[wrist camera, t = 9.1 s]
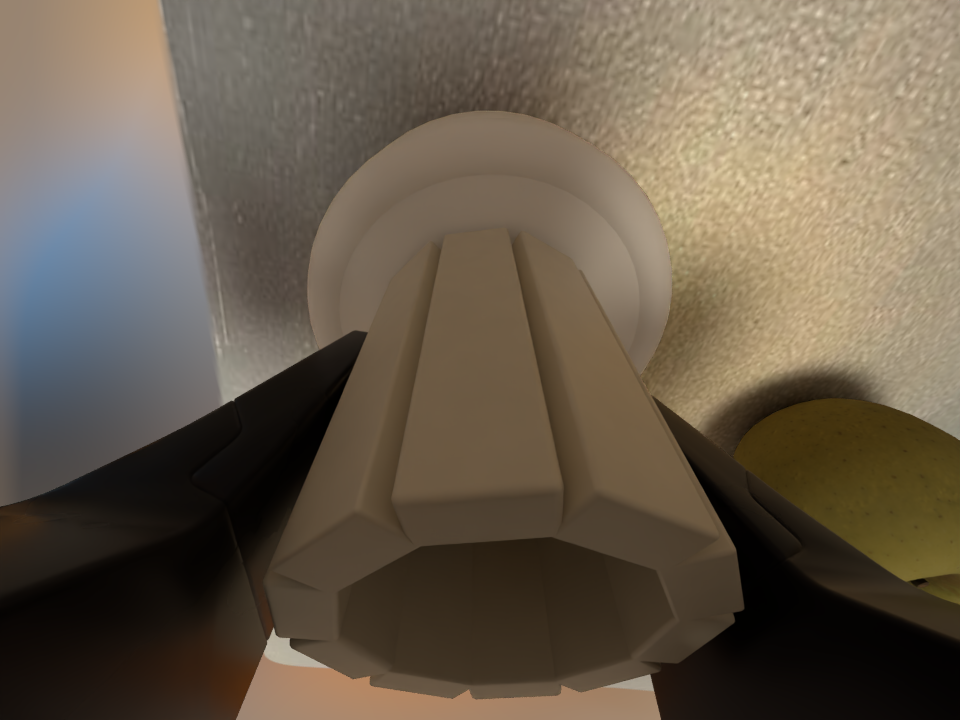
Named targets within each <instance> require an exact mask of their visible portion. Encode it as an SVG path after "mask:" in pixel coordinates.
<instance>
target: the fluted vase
mask: <svg viewBox="0 0 960 720" xmlns="http://www.w3.org/2000/svg"><path fill="white" fill-rule="evenodd" d="M263 587H264V591H265V595H266V599H267V602H268V606H269V610H270V614H271V618H272V622H273V625H274V629H275V633H276V635H277V636H278V637H280V638H290V646H291V648H292V649H294V650H296V651H298V652H300V653H302V654H304V655H306V656H308V657H310V658H312V659H314V660H316V661H318V662H320V663H322V664H324V665H326V666H328V667H330V668H332V669H334V670H336V671H338V672H340V673H342V674H344V675H346V676H348V677H350V678H352V679H356V678H362V677H367V676H371V677H370V685H371V686H374V687H381V688H387V689H394V690H400V691H406V692H413V693H420V694H426V695H432V696H439V697H445V698H452V699H453V698H455V697H457V696H458V695H460V694H462V693H463V692H465V691H467V690H468V689H469V690H470V693H471V695H472V697H473V698H474V699H492V698H514V697H535V696H556V695H559V694H560V693H561V685H563V686H565V687H568V688H571V689H573V690H576V691H578V692H584V691H588V690H592V689H596V688H600V687H603V686H607V685H611V684H615V683H619V682H622V681H626V680H630V679H634V678H637V677H641V676H645V675H649V674H653V673H656V672H659V671H660V670H661V665H660V662H663V663H679V662H681V661H682V660H684V659H685V658H686V657H688V656H689V655H691V654H692V653H693V652H695V651H696V650H697V649H699V648H700V647H702V646H703V645H704V644H706V643H707V642H708V641H710V640H711V639H713V638H714V637H715V636H717V635H718V634H720V633H721V632H722V631H724V630H725V629H726V628H728V627H729V626H731V625H732V624H733V623H734V622H735V618H734V615H733V612H739V611H742V610H744V601H743V594H742V587H741V580H740V573H739V566H738V559H737V552H736V548H735V546H734V544H733V542H732V541H731V539H730V537H729V535H728V533H727V532H726V530H725V528H724V526H723V524H722V523H721V521H720V519H719V517H718V515H717V514H716V512H715V510H714V508H713V506H712V505H711V503H710V501H709V499H708V497H707V495H706V494H705V492H704V490H703V488H702V486H701V485H700V483H699V481H698V479H697V477H696V476H695V474H694V472H693V470H692V468H691V467H690V465H689V463H688V461H687V459H686V457H685V456H684V454H683V452H682V450H681V448H680V447H679V445H678V443H677V441H676V439H675V438H674V436H673V434H672V432H671V430H670V429H669V427H668V425H667V423H666V421H665V420H664V418H663V416H662V414H661V412H660V410H659V409H658V407H657V405H656V403H655V401H654V400H653V398H652V396H651V394H650V392H649V391H648V389H647V387H646V385H645V383H644V382H643V380H642V378H641V376H640V374H639V373H638V371H637V369H636V367H635V365H634V363H633V362H632V360H631V358H630V356H629V354H628V353H627V351H626V349H625V347H624V345H623V344H622V342H621V340H620V338H619V336H618V335H617V333H616V331H615V329H614V327H613V326H612V324H611V322H610V320H609V318H608V316H607V315H606V313H605V311H604V309H603V307H602V306H601V304H600V302H599V300H598V298H597V297H596V295H595V293H594V291H593V289H592V288H591V286H590V284H589V282H588V280H587V279H586V277H585V275H584V273H583V271H582V270H578V268H577V267H576V265H575V263H574V261H573V259H571V258H570V257H568V256H566V255H565V254H563V253H561V252H559V251H558V250H556V249H554V248H553V247H551V246H549V245H547V244H546V243H544V242H542V241H541V240H539V239H537V238H535V237H534V236H532V235H530V234H529V233H527V232H525V231H521V232H520V233H519V234H518V236H517V237H516V239H515V241H514V242H513V244H511V239H510V235H509V231H508V229H507V228H497V229H489V230H480V231H472V232H464V233H455V234H447V235H445V236H444V239H443V244H442V249H440V248H439V247H438V246H437V245H436V244H435V243H434V242H432V241H430V242H429V243H427V244H426V245H425V246H424V247H423V248H422V249H421V250H420V251H419V252H418V253H417V254H416V255H415V256H414V257H413V258H412V259H411V260H410V261H409V262H408V263H407V264H406V265H405V266H404V267H403V268H402V269H401V270H400V271H399V272H398V273H397V274H396V275H395V276H394V277H393V278H392V279H391V280H390V282H389V285H388V287H387V289H386V292H385V294H384V296H383V298H382V301H381V303H380V305H379V308H378V310H377V312H376V315H375V317H374V320H373V322H372V324H371V327H370V329H369V331H368V334H367V336H366V338H365V341H364V343H363V345H362V348H361V351H360V353H359V356H358V358H357V360H356V363H355V365H354V367H353V370H352V372H351V374H350V376H349V378H348V381H347V383H346V386H345V388H344V390H343V393H342V395H341V397H340V400H339V402H338V404H337V407H336V409H335V411H334V414H333V416H332V419H331V421H330V423H329V426H328V428H327V430H326V433H325V435H324V437H323V440H322V442H321V444H320V447H319V449H318V452H317V454H316V456H315V459H314V461H313V463H312V466H311V468H310V470H309V473H308V475H307V477H306V480H305V482H304V485H303V487H302V489H301V492H300V494H299V496H298V499H297V501H296V503H295V506H294V508H293V510H292V513H291V515H290V518H289V520H288V522H287V525H286V527H285V529H284V532H283V534H282V536H281V539H280V541H279V543H278V546H277V548H276V551H275V553H274V555H273V558H272V560H271V562H270V565H269V567H268V569H267V572H266V574H265V576H264V579H263Z"/></svg>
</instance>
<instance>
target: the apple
mask: <svg viewBox="0 0 960 720" xmlns="http://www.w3.org/2000/svg"><path fill="white" fill-rule="evenodd" d="M733 458H734V459H735V460H736V461H738V462H739V463H740V464H741V465H743V466H744V467H745V470H749V471H751V472H752V473H753V474H754V475H756V476H757V477H758V478H760V479H761V480H762V481H763V482H765V483H766V484H767V485H769V486H770V487H771V488H773V489H774V490H775V491H777V492H778V493H779V494H781V495H782V496H783V497H785V498H786V499H787V500H789V501H790V502H791V503H793V504H794V505H796V506H797V507H798V508H800V509H801V510H803V511H804V512H805V513H807V514H808V515H810V516H811V517H812V518H814V519H815V520H817V521H818V522H819V523H821V524H822V525H824V526H825V527H826V528H828V529H829V530H831V531H832V532H834V533H835V534H836V535H838V536H839V537H841V538H842V539H844V540H845V541H846V542H848V543H849V544H851V545H852V546H854V547H855V548H856V549H858V550H859V551H861V552H862V553H864V554H865V555H866V556H868V557H869V558H871V559H872V560H874V561H875V562H876V563H878V564H879V565H881V566H882V567H884V568H885V569H886V570H888V571H889V572H891V573H892V574H894V575H896V576H897V577H899V578H900V579H902V580H904V581H906V582H907V583H909V584H911V585H913V586H915V587H917V588H919V589H921V590H923V591H925V592H927V593H929V594H932V595H934V596H937V597H939V598H942V599H944V600H947V601H950V602H953V603H956V604H960V440H958V439H957V438H955V437H953V436H952V435H950V434H948V433H946V432H944V431H943V430H941V429H939V428H937V427H935V426H933V425H931V424H929V423H927V422H925V421H923V420H921V419H919V418H917V417H915V416H913V415H910V414H908V413H905V412H902V411H900V410H897V409H894V408H891V407H888V406H885V405H881V404H877V403H872V402H868V401H862V400H854V399H844V398H828V399H817V400H812V401H807V402H803V403H799V404H795V405H792V406H789V407H787V408H784V409H781V410H779V411H777V412H775V413H773V414H771V415H769V416H767V417H766V418H764V419H763V420H761V421H760V422H758V423H757V424H755V425H754V426H753V427H752V428H751V429H750V430H749V431H748V432H747V433H746V434H745V435H744V436H743V438H742V439H741V441H740V442H739V444H738V446H737V448H736V450H735V453H734V456H733Z"/></svg>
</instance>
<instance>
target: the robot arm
mask: <svg viewBox="0 0 960 720" xmlns="http://www.w3.org/2000/svg"><path fill="white" fill-rule="evenodd" d="M367 334H368V332H363V331H357V330H354V331H352V332H350V333H348V334H346V335H345V336H343V337H341V338H339V339H338V340H336V341H334V342H333V343H331V344H329V345H327V346H326V347H324V348H322V349H320V350H319V351H317V352H315V353H313V354H312V355H310V356H308V357H307V358H305V359H303V360H301V361H300V362H298V363H296V364H294V365H293V366H291V367H289V368H287V369H286V370H284V371H282V372H280V373H279V374H277V375H275V376H274V377H272V378H270V379H268V380H267V381H265V382H263V383H261V384H260V385H258V386H256V387H254V388H253V389H251V390H249V391H248V392H246V393H244V394H242V395H241V396H239V397H237V398H235V400H234V401H230V402H228V403H226V404H225V405H223V406H221V407H220V408H218V409H216V410H214V411H212V412H211V413H209V414H207V415H205V416H204V417H202V418H200V419H198V420H196V421H194V422H193V423H191V424H189V425H187V426H185V427H183V428H181V429H179V430H177V431H175V432H173V433H171V434H169V435H167V436H165V437H163V438H161V439H159V440H157V441H155V442H153V443H151V444H149V445H147V446H144V447H142V448H140V449H138V450H136V451H134V452H132V453H130V454H128V455H125V456H123V457H121V458H119V459H117V460H115V461H113V462H111V463H109V464H107V465H104V466H102V467H100V468H98V469H97V470H94V471H92V472H90V473H88V474H86V475H84V476H81V477H79V478H77V479H75V480H73V481H71V482H69V483H67V484H65V485H63V486H60V487H58V488H56V489H53V490H51V491H49V492H46V493H44V494H41V495H38V496H36V497H33V498H30V499H27V500H24V501H21V502H17V503H13V504H10V505H6V506H1V507H0V720H236V718H237V716H238V713H239V711H240V708H241V706H242V703H243V701H244V699H245V696H246V693H247V691H248V689H249V686H250V684H251V681H252V679H253V677H254V674H255V672H256V669H257V667H258V665H259V662H260V660H261V657H262V655H263V652H264V650H265V648H266V645H267V640H268V639H269V637H270V635H271V632H272V630H273V628H274V625H273V622H272V618H271V614H270V610H269V606H268V602H267V599H266V595H265V591H264V587H263V579H264V576H265V574H266V572H267V569H268V567H269V565H270V562H271V560H272V558H273V555H274V553H275V551H276V548H277V546H278V543H279V541H280V539H281V536H282V534H283V532H284V529H285V527H286V525H287V522H288V520H289V518H290V515H291V513H292V510H293V508H294V506H295V503H296V501H297V499H298V496H299V494H300V492H301V489H302V487H303V485H304V482H305V480H306V477H307V475H308V473H309V470H310V468H311V466H312V463H313V461H314V459H315V456H316V454H317V452H318V449H319V447H320V444H321V442H322V440H323V437H324V435H325V433H326V430H327V428H328V426H329V423H330V421H331V419H332V416H333V414H334V411H335V409H336V407H337V404H338V402H339V400H340V397H341V395H342V393H343V390H344V388H345V386H346V383H347V381H348V378H349V376H350V374H351V372H352V370H353V367H354V365H355V363H356V360H357V358H358V356H359V353H360V351H361V348H362V345H363V343H364V341H365V338H366V336H367ZM651 396H652V395H651ZM652 398H653V400H654V401H655V403H656V405H657V407H658V409H659V410H660V412H661V414H662V416H663V418H664V420H665V421H666V423H667V425H668V427H669V429H670V430H671V432H672V434H673V436H674V438H675V439H676V441H677V443H678V445H679V447H680V448H681V450H682V452H683V454H684V456H685V457H686V459H687V461H688V463H689V465H690V467H691V468H692V470H693V472H694V474H695V476H696V477H697V479H698V481H699V483H700V485H701V486H702V488H703V490H704V492H705V494H706V495H707V497H708V499H709V501H710V503H711V505H712V506H713V508H714V510H715V512H716V514H717V515H718V517H719V519H720V521H721V523H722V524H723V526H724V528H725V530H726V532H727V533H728V535H729V537H730V539H731V541H732V542H733V544H734V546H735V548H736V552H737V559H738V566H739V573H740V580H741V587H742V594H743V601H744V610H742V611H739V612H733V615H734V618H735V622H734V623H733V624H732V625H731V626H729V627H728V628H726V629H725V630H724V631H722V632H721V633H720V634H718V635H717V636H715V637H714V638H713V639H711V640H710V641H708V642H707V643H706V644H704V645H703V646H702V647H700V648H699V649H697V650H696V651H695V652H693V653H692V654H691V655H689V656H688V657H686V658H685V659H684V660H682V661H681V662H679V663H663V662H660V665H661V670H660V671H659V672H656V673H653V674H650V675H651V679H652V683H653V688H654V692H655V696H656V700H657V704H658V708H659V712H660V717H661V720H960V604H956V603H953V602H950V601H947V600H944V599H942V598H939V597H937V596H934V595H932V594H929V593H927V592H925V591H923V590H921V589H919V588H917V587H915V586H913V585H911V584H909V583H907V582H906V581H904V580H902V579H900V578H899V577H897V576H896V575H894V574H892V573H891V572H889V571H888V570H886V569H885V568H884V567H882V566H881V565H879V564H878V563H876V562H875V561H874V560H872V559H871V558H869V557H868V556H866V555H865V554H864V553H862V552H861V551H859V550H858V549H856V548H855V547H854V546H852V545H851V544H849V543H848V542H846V541H845V540H844V539H842V538H841V537H839V536H838V535H836V534H835V533H834V532H832V531H831V530H829V529H828V528H826V527H825V526H824V525H822V524H821V523H819V522H818V521H817V520H815V519H814V518H812V517H811V516H810V515H808V514H807V513H805V512H804V511H803V510H801V509H800V508H798V507H797V506H796V505H794V504H793V503H791V502H790V501H789V500H787V499H786V498H785V497H783V496H782V495H781V494H779V493H778V492H777V491H775V490H774V489H773V488H771V487H770V486H769V485H767V484H766V483H765V482H763V481H762V480H761V479H760V478H758V477H757V476H756V475H754V474H753V473H752V472H751V471H749V470H745V467H744V466H743V465H741V464H740V463H739V462H738V461H736V460H735V459H734V458H732V457H731V456H730V455H729V454H727V453H726V452H725V451H723V450H722V449H721V448H719V447H718V446H717V445H716V444H714V443H713V442H712V441H710V440H709V439H708V438H707V437H705V436H704V435H703V434H701V433H700V432H699V431H698V430H696V429H695V428H694V427H692V426H691V425H690V424H689V423H687V422H686V421H685V420H683V419H682V418H681V417H679V416H678V415H677V414H676V413H674V412H673V411H672V410H670V409H669V408H668V407H667V406H665V405H664V404H663V403H661V402H660V401H659V400H658V399H656V398H655V397H654V396H652Z"/></svg>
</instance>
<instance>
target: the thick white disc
mask: <svg viewBox="0 0 960 720" xmlns="http://www.w3.org/2000/svg"><path fill="white" fill-rule="evenodd" d="M497 228H507V229H508V231H509V235H510V239H511V244H513V242H514V241H515V239H516V237H517V236H518V234H519V233H520V232H521V231H525V232H527V233H529V234H530V235H532V236H534V237H535V238H537V239H539V240H541V241H542V242H544V243H546V244H547V245H549V246H551V247H553V248H554V249H556V250H558V251H559V252H561V253H563V254H565V255H566V256H568V257H570V258H571V259H573V261H574V263H575V265H576V267H577V268H578V270H582V271H583V273H584V275H585V277H586V279H587V280H588V282H589V284H590V286H591V288H592V289H593V291H594V293H595V295H596V297H597V298H598V300H599V302H600V304H601V306H602V307H603V309H604V311H605V313H606V315H607V316H608V318H609V320H610V322H611V324H612V326H613V327H614V329H615V331H616V333H617V335H618V336H619V338H620V340H621V342H622V344H623V345H624V347H625V349H626V351H627V353H628V354H629V356H630V358H631V360H632V362H633V363H634V365H635V367H636V369H637V371H638V373H639V374H640V376H641V374H642V373H643V371H644V370H645V368H646V367H647V365H648V363H649V362H650V360H651V359H652V357H653V355H654V353H655V351H656V349H657V347H658V345H659V343H660V341H661V338H662V336H663V333H664V330H665V327H666V323H667V320H668V317H669V311H670V305H671V298H672V267H671V260H670V254H669V248H668V243H667V239H666V237H665V234H664V231H663V228H662V225H661V222H660V219H659V217H658V215H657V213H656V211H655V209H654V207H653V206H652V204H651V202H650V200H649V198H648V196H647V195H646V194H645V192H644V191H643V190H642V189H641V187H640V186H639V185H638V183H637V182H636V181H635V179H634V178H633V177H632V176H631V175H630V174H629V173H628V172H627V171H626V170H625V169H624V168H623V167H622V166H621V165H620V164H618V163H617V162H616V161H615V160H614V159H613V158H612V157H610V156H609V155H607V154H606V153H604V152H603V151H601V150H600V149H599V148H597V147H596V146H594V145H593V144H591V143H589V142H587V141H585V140H583V139H582V138H580V137H579V136H577V135H575V134H573V133H571V132H570V131H568V130H566V129H564V128H561V127H559V126H557V125H555V124H553V123H551V122H549V121H545V120H542V119H539V118H535V117H532V116H529V115H525V114H519V113H512V112H506V111H471V112H464V113H457V114H451V115H448V116H445V117H441V118H438V119H435V120H432V121H429V122H427V123H424V124H422V125H420V126H418V127H416V128H414V129H412V130H410V131H408V132H406V133H405V134H403V135H402V136H400V137H399V138H397V139H396V140H394V141H393V142H391V143H390V144H388V145H387V146H386V147H385V148H384V149H382V150H381V151H379V152H378V153H377V154H376V155H374V156H373V157H371V158H370V159H369V160H368V161H367V162H366V163H365V164H363V165H362V166H361V167H360V168H359V169H358V170H357V171H356V172H355V173H354V174H353V175H352V176H351V177H350V178H349V179H348V180H347V182H346V183H345V184H344V186H343V187H342V188H341V190H340V191H339V192H338V194H337V195H336V196H335V197H334V199H333V200H332V202H331V204H330V206H329V208H328V210H327V211H326V213H325V215H324V217H323V219H322V221H321V223H320V225H319V228H318V231H317V234H316V237H315V240H314V243H313V246H312V250H311V256H310V262H309V269H308V277H307V302H308V308H309V315H310V322H311V326H312V329H313V332H314V336H315V339H316V342H317V345H318V347H319V349H322V348H324V347H326V346H327V345H329V344H331V343H333V342H334V341H336V340H338V339H339V338H341V337H343V336H345V335H346V334H348V333H350V332H352V331H354V330H357V331H363V332H368V331H369V329H370V327H371V324H372V322H373V320H374V317H375V315H376V312H377V310H378V308H379V305H380V303H381V301H382V298H383V296H384V294H385V292H386V289H387V287H388V285H389V282H390V280H391V279H392V278H393V277H394V276H395V275H396V274H397V273H398V272H399V271H400V270H401V269H402V268H403V267H404V266H405V265H406V264H407V263H408V262H409V261H410V260H411V259H412V258H413V257H414V256H415V255H416V254H417V253H418V252H419V251H420V250H421V249H422V248H423V247H424V246H425V245H426V244H427V243H429V242H430V241H432V242H434V243H435V244H436V245H437V246H438V247H439V248H440V249H442V244H443V239H444V236H445V235H447V234H455V233H464V232H472V231H480V230H489V229H497Z"/></svg>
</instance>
